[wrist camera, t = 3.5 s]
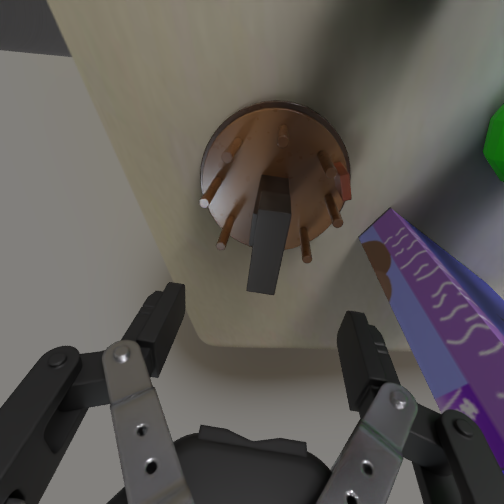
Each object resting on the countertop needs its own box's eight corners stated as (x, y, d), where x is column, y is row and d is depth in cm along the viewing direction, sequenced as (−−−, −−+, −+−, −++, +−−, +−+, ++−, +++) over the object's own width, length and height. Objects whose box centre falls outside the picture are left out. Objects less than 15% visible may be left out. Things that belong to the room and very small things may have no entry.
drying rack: (202, 236, 34) (160, 319, 22) (206, 96, 26) (142, 112, 14) (324, 254, 34) (346, 349, 22) (366, 120, 25) (437, 155, 14)
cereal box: (358, 236, 33) (473, 481, 13) (389, 207, 31) (589, 449, 11) (452, 305, 37) (651, 572, 17) (487, 283, 35) (763, 562, 15)
